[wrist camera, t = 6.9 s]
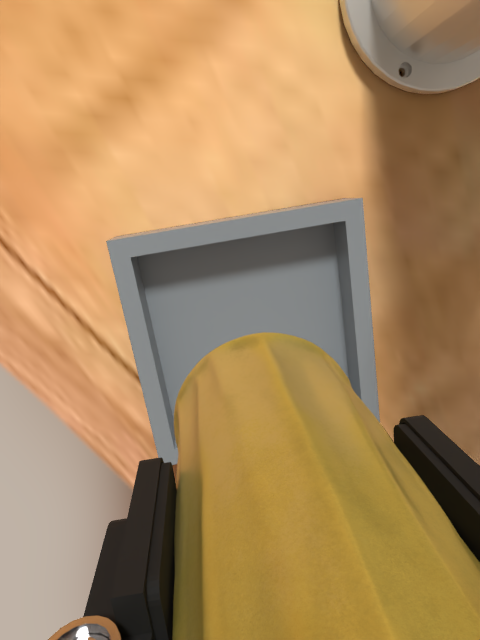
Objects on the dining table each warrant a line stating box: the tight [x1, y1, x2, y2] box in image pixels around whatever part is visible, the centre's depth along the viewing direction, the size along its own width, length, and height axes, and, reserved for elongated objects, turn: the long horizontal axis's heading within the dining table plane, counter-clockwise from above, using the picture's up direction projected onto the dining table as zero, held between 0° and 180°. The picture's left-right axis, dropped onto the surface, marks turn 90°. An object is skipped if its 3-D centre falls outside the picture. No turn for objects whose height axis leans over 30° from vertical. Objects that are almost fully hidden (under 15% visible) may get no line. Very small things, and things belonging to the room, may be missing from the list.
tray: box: [106, 198, 380, 465], centre depth 31 cm, size 16×16×4 cm
